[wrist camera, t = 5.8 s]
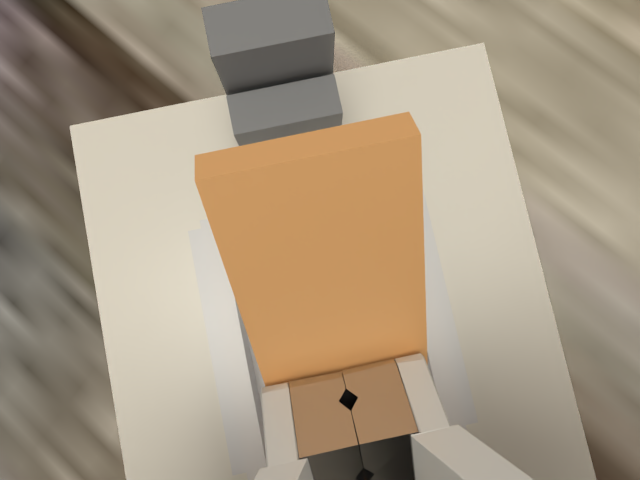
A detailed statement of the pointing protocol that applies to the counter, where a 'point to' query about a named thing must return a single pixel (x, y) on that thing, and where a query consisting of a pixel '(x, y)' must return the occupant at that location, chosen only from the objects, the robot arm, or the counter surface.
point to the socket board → (213, 284)
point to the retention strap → (323, 244)
